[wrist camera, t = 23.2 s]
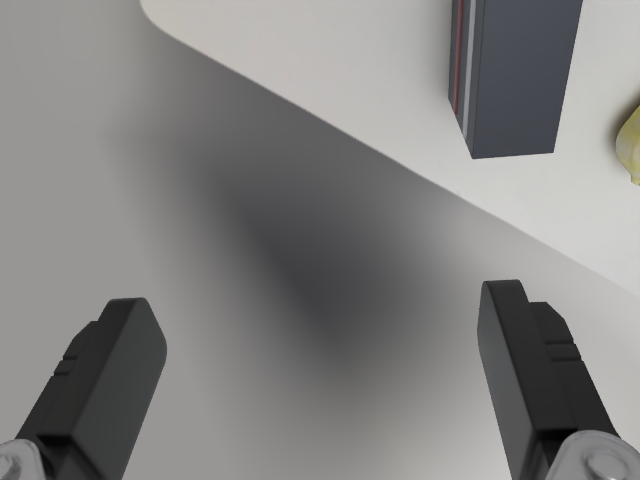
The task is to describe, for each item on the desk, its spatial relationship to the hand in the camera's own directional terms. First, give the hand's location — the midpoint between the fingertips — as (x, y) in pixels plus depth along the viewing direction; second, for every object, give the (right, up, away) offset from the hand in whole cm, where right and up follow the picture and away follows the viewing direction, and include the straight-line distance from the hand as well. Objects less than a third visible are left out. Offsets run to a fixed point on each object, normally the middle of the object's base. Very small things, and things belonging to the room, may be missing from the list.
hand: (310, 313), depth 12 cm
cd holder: (+12, +17, +24) cm, 32 cm away
